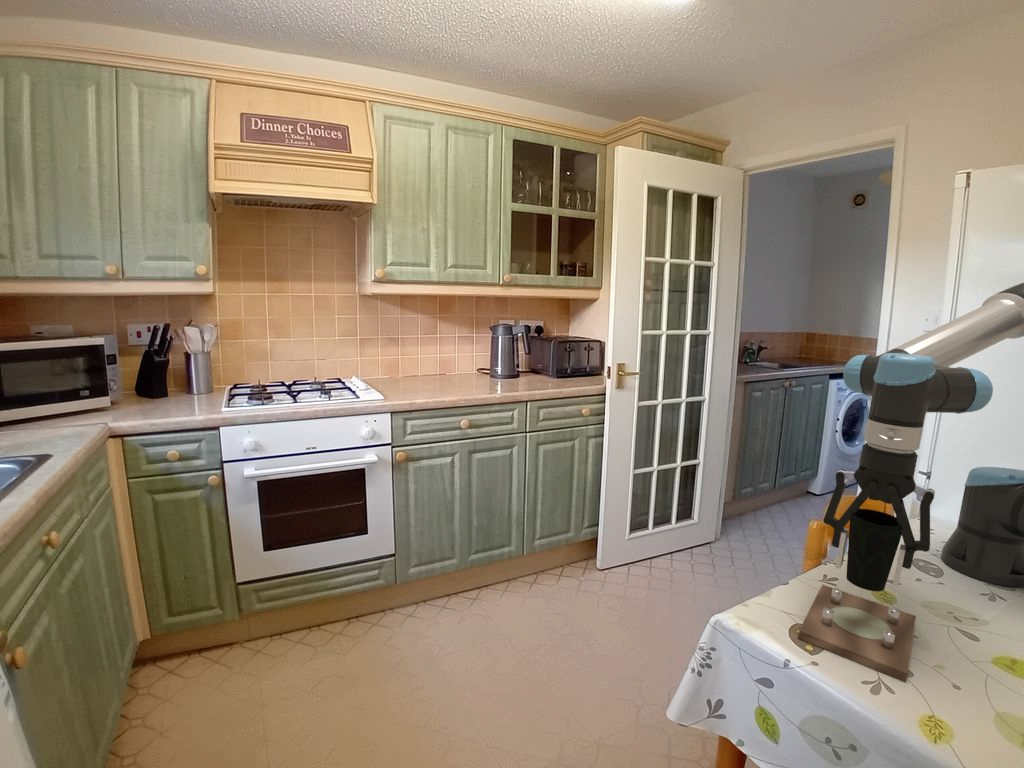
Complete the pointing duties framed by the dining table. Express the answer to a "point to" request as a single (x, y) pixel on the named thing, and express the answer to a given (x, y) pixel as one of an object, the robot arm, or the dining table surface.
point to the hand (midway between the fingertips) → (866, 573)
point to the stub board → (860, 631)
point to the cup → (871, 548)
